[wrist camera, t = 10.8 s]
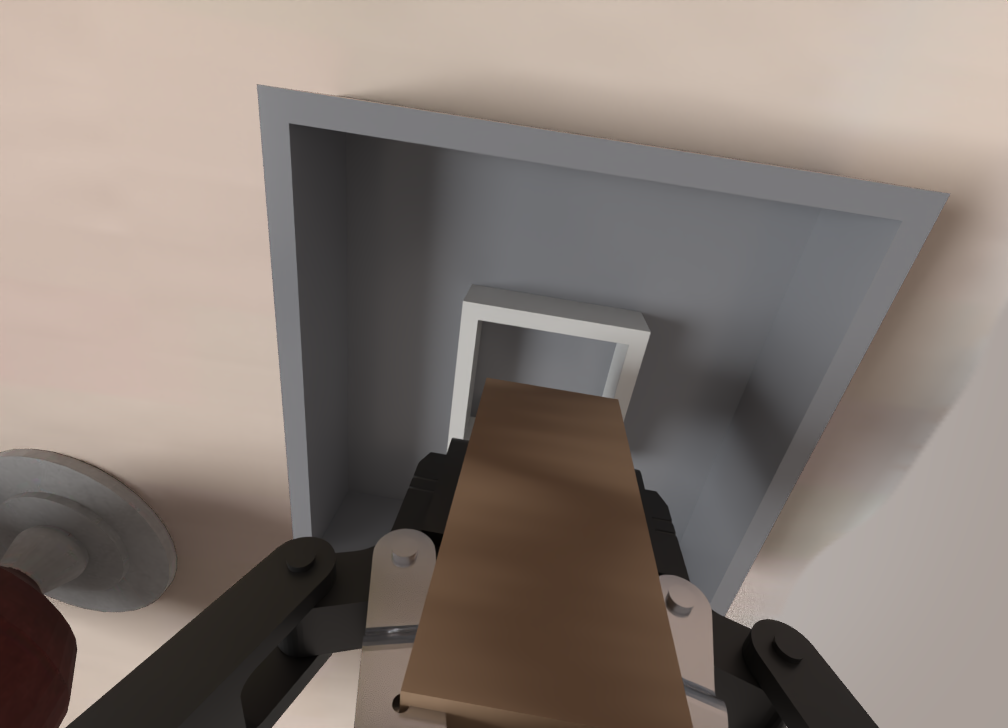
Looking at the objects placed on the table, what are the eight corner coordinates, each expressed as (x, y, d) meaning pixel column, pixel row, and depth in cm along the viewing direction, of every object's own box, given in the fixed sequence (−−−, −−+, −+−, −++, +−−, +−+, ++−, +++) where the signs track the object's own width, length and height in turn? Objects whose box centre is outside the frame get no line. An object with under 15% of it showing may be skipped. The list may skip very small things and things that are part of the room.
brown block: (472, 480, 16) (391, 824, 8) (486, 377, 14) (401, 690, 6) (589, 499, 16) (622, 868, 8) (618, 399, 14) (696, 745, 6)
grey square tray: (341, 486, 25) (295, 564, 21) (334, 95, 17) (256, 84, 13) (684, 546, 25) (713, 638, 20) (843, 175, 17) (949, 194, 12)
